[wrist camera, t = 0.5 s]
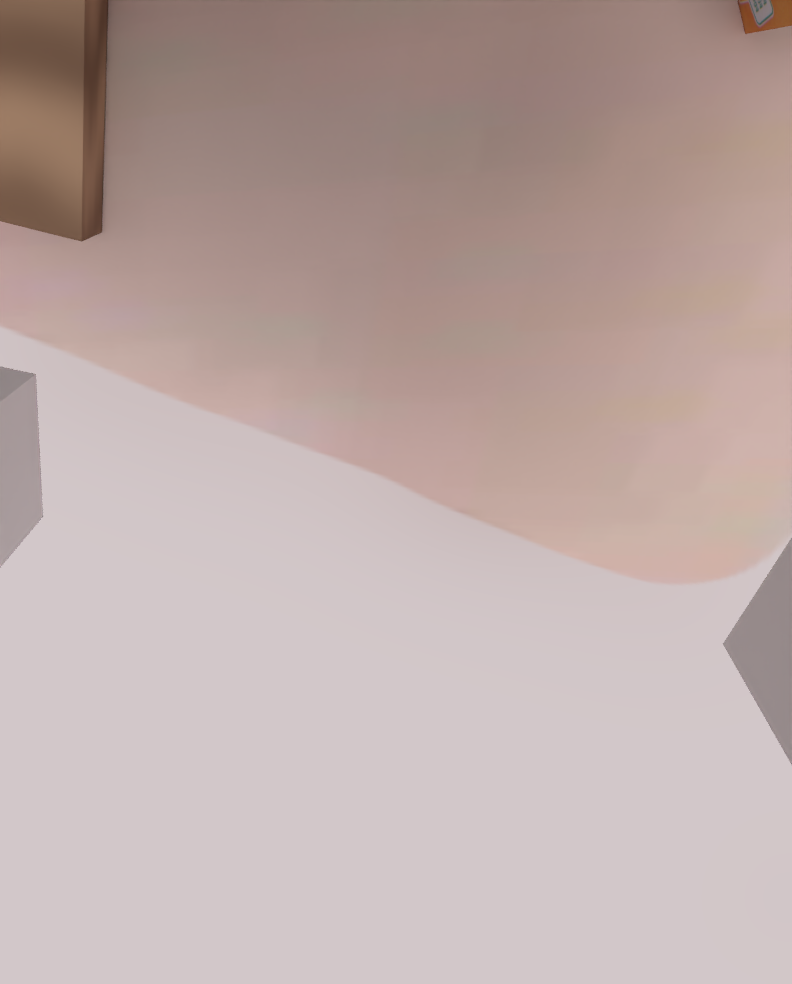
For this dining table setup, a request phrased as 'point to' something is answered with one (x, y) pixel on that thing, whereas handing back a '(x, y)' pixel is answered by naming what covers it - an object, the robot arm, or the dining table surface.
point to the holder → (53, 115)
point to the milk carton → (765, 14)
